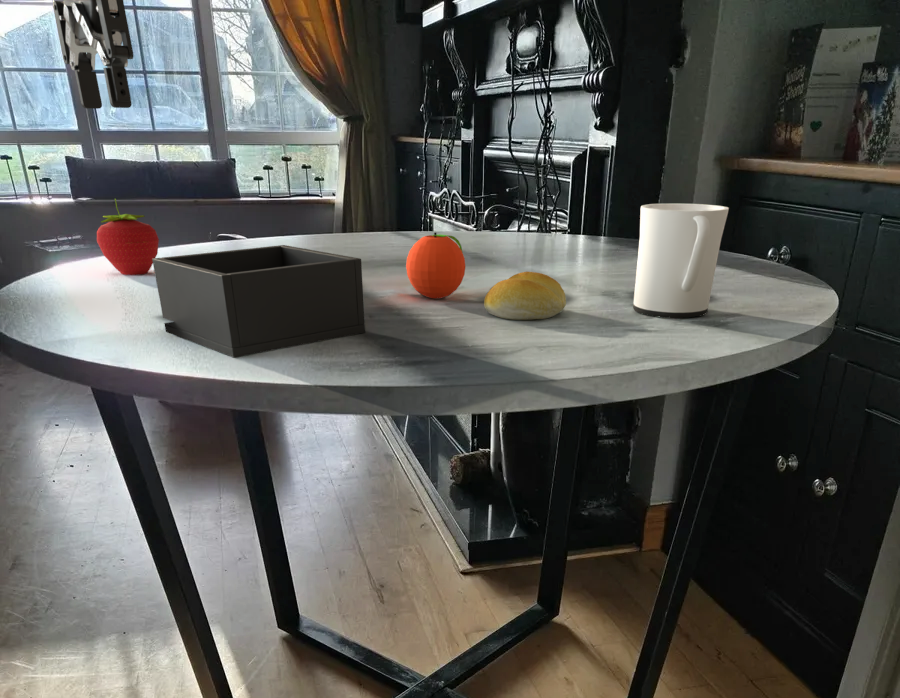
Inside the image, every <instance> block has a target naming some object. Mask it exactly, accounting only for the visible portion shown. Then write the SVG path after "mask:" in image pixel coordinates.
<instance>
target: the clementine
mask: <svg viewBox="0 0 900 698" xmlns="http://www.w3.org/2000/svg"><path fill="white" fill-rule="evenodd" d="M405 264H406V265H405V268H406V275H407V278H408V280H409V282H410V285H411V286H412V287H413V288H414V290H415V291H416V292H418V293H419V294H420V295H422V296H423V297H427V298H429V299H435V300H436V299H437V300H438V299H444V298H446V297H448V296H451V295H452V294H453V293H455V292H456V291H457V290H458V288H459V287H460V285H461V284H462V282H463V279H464V277H465V273H466V258H465V255H464V254H463V248H462V244H461V243H460V240H459V239H457V238H456V237H455V236H453V235H447V234H441V233H439V234H437V232H434V233H433V234H431V235H430V234H429V235H425V236H422V237H421V238H419V239H418V240H417V241H416V242H415V243H413V245H412V247H411V248H410V250H409V251H408V255H407V257H406V263H405Z"/></svg>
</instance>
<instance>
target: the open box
mask: <svg viewBox="0 0 900 698" xmlns="http://www.w3.org/2000/svg"><path fill="white" fill-rule="evenodd" d="M152 261H153V264H152V266H153V272H154V277H155V281H156V282H155V283H156V287H157V292H158V298H159V305H160V308H161V314H162V318H163V319H165V320H168V321H170V322H164V323H163V324H164V330H165V332H166V334H170V335H172V336H175V337H178V338H180V339H183V340H186V341H189V342H192V343H194V344H197V345H199V346H201V347H205V348H207V349H210V350H212V351H215V352H218V353H220V354H223V355H227V356H229V357H232V358H238V357H245V356H249V355H254V354H255V355H256V354H259V353H265V352H270V351H275V350H276V351H277V350H281V349H285V348H290V347H291V348H292V347H297V346H301V345H306V344H312V343H317V342H322V341H327V340H333V339H337V338H343V337H344V338H345V337H348V336H354V335H359V334H365V333H366V325H365V323H366V321H365V320H366V319H365V305H364V304H365V303H364V287H363V270H362V269H363V268H362V258H360V257H354V256H349V255H343V254H337V253H331V252H325V251H319V250H315V249H308V248H303V247H298V246H291V245H287V244H280V245H269V246H260V247H251V248H241V249H232V250H220V251H212V252H202V253H201V252H200V253H194V254H193V253H192V254H184V255H183V254H182V255H174V256H163V257H156V258H153V259H152Z"/></svg>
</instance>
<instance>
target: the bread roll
mask: <svg viewBox="0 0 900 698" xmlns="http://www.w3.org/2000/svg"><path fill="white" fill-rule="evenodd" d="M566 296H567V295H566V293H565V290H564V289H563V286H562V285H561V284H560V283H559V281H557V280H556V279H555V278H553V277H551V276H550V275H547V274H544V273H542V272H535V271H524V272H519V273H516V274H513V275H511V276H510V277H509V278H507V279H503V280H500V281H498V282H496V283H495V284H494V285H493V286H491V287H490V289H489V290H488V291H487V293H486V294H485V297H484V299H483V300H484V301H483V305H484V309H485V311H487V313H489V314H490V315H493V316H495V317H497V318H500V319H506V320H518V321H519V320H520V321H529V320H530V321H531V320H545V319H547V320H548V319H549V318H553V317H554V316H556V315H558V314H560V313H561V312H563V311H564V309H565V308H566V306H567V297H566Z"/></svg>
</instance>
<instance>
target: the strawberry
mask: <svg viewBox="0 0 900 698" xmlns="http://www.w3.org/2000/svg"><path fill="white" fill-rule="evenodd" d="M114 201H115V202H114V203H115V208H116V211H117V214H110V215H103V216H102V218H104V220H101V221H100V223H101V225H100V226H99V227H98V229H97V231H96V242H97V245H98V247H99V249H100V250H101V252H102V255H103V256H104V257H105V259H107V261H109V263H110V264H111V265H112V266H113V267H114V268H115V269H116V271H118V272H119V273H120V275H124V276H133V275H134V276H140V275H147V274H148V272H149V271H150V270H151V269H152V266H153V261H152V259H153V258H157V256H158V252H159V243H160V239H159V236H158V233H157V231H156V229H154V228H153V226H152V225H150V224H148V223H145V222H141V221H139V220H138V219H141V218H145V215H143V214H141V215H140V214H130V213H123V214H120V211H119V208H118V203H117V198H114ZM102 223H105V224H102Z"/></svg>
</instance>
